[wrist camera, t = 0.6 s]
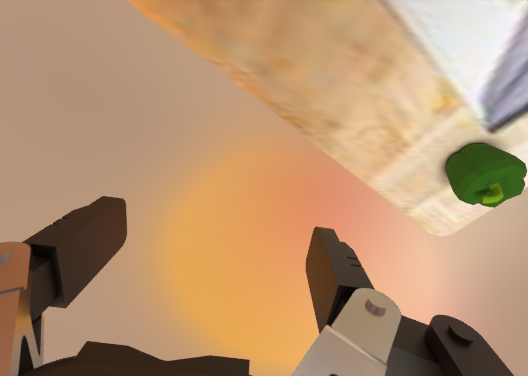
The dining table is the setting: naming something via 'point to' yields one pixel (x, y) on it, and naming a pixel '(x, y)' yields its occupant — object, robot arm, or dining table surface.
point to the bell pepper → (485, 175)
